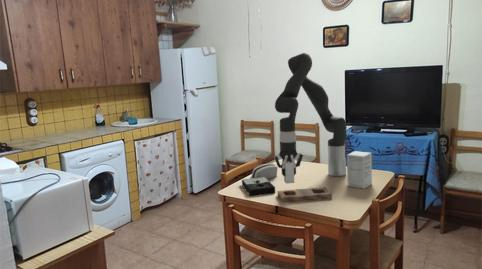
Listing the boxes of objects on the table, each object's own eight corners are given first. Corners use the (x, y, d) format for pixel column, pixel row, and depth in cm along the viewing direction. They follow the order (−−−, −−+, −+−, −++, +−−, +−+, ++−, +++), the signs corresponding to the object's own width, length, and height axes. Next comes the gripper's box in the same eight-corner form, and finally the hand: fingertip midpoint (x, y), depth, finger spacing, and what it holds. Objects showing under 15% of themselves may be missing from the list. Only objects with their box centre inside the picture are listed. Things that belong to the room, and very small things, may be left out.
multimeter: (250, 197, 182) (249, 187, 181) (241, 185, 200) (241, 177, 199) (275, 193, 184) (275, 184, 184) (264, 182, 203) (264, 174, 202)
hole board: (325, 191, 182) (325, 186, 181) (331, 198, 172) (331, 193, 171) (277, 195, 180) (277, 190, 180) (281, 203, 170) (281, 197, 170)
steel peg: (292, 180, 176) (291, 160, 174) (294, 182, 172) (293, 162, 171) (284, 181, 176) (283, 160, 174) (285, 183, 172) (285, 163, 170)
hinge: (271, 174, 216) (274, 160, 212) (276, 178, 213) (279, 164, 208) (248, 180, 207) (251, 165, 203) (253, 185, 204) (256, 169, 199)
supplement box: (372, 184, 189) (372, 152, 186) (364, 189, 183) (364, 156, 180) (354, 181, 196) (354, 150, 193) (346, 185, 189) (346, 154, 186)
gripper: (300, 137, 175) (301, 172, 178) (271, 139, 174) (272, 174, 177) (304, 140, 167) (305, 176, 170) (274, 142, 166) (275, 179, 169)
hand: (288, 175), depth 174 cm, fingers closed on steel peg, 4 cm apart
